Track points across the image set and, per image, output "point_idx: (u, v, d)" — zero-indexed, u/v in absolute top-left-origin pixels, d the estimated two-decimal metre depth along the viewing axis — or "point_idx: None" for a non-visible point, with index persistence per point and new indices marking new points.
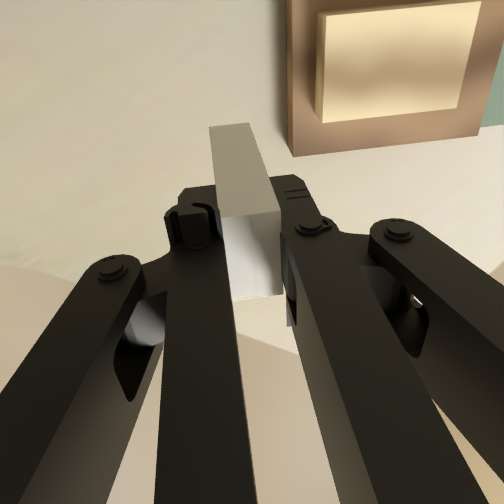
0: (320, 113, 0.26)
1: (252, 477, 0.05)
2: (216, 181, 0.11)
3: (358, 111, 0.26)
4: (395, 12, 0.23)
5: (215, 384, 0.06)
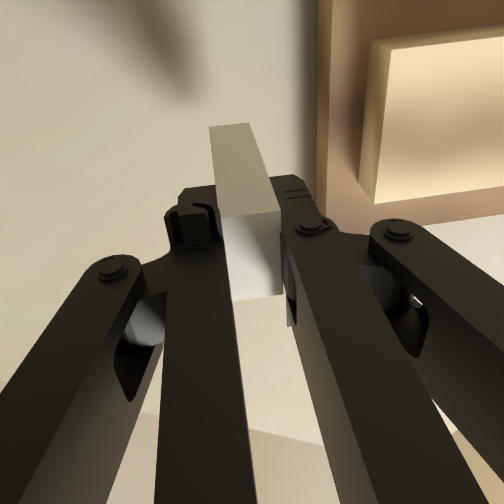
0: (370, 188, 0.17)
1: (252, 477, 0.05)
2: (216, 181, 0.11)
3: (428, 185, 0.17)
4: (502, 41, 0.14)
5: (214, 384, 0.06)
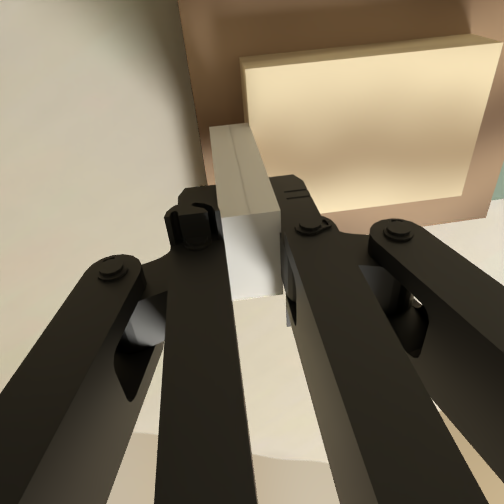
0: None
1: (252, 477, 0.05)
2: (216, 181, 0.11)
3: None
4: (361, 61, 0.14)
5: (215, 384, 0.06)
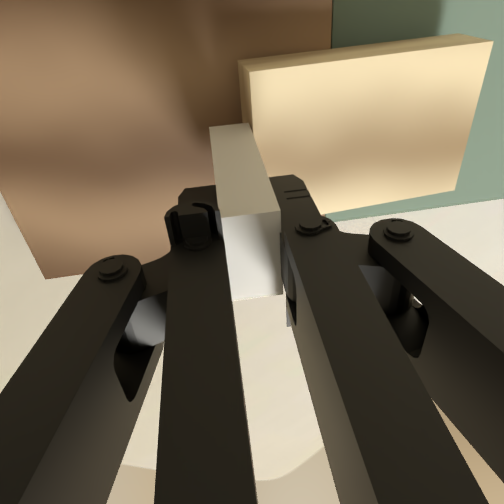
0: None
1: (252, 477, 0.05)
2: (216, 181, 0.11)
3: None
4: (362, 62, 0.14)
5: (215, 384, 0.06)
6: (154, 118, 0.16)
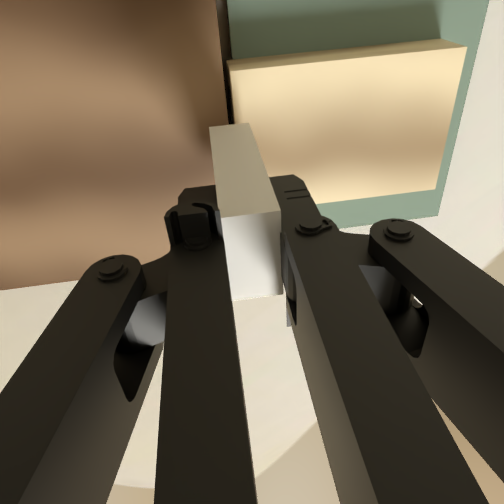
0: None
1: (252, 477, 0.05)
2: (216, 181, 0.11)
3: None
4: (336, 64, 0.15)
5: (215, 384, 0.06)
6: (47, 137, 0.16)
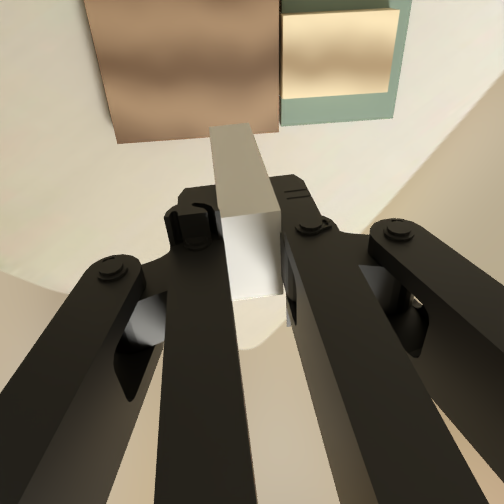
0: (281, 92, 0.34)
1: (252, 477, 0.05)
2: (216, 181, 0.11)
3: (310, 90, 0.33)
4: (335, 15, 0.30)
5: (215, 383, 0.06)
6: (188, 47, 0.31)
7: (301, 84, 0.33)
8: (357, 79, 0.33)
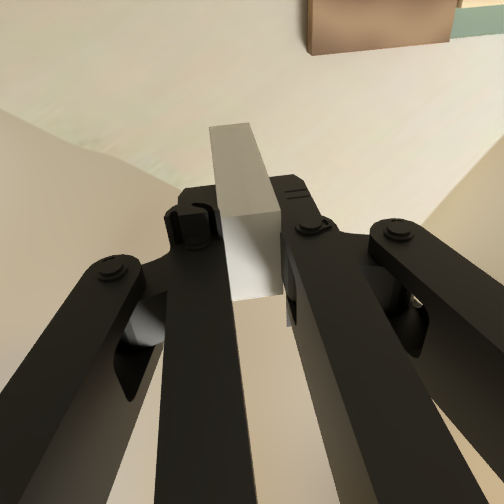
0: (458, 2, 0.38)
1: (252, 477, 0.05)
2: (216, 181, 0.11)
3: None
4: None
5: (215, 384, 0.06)
6: None
7: None
8: None
